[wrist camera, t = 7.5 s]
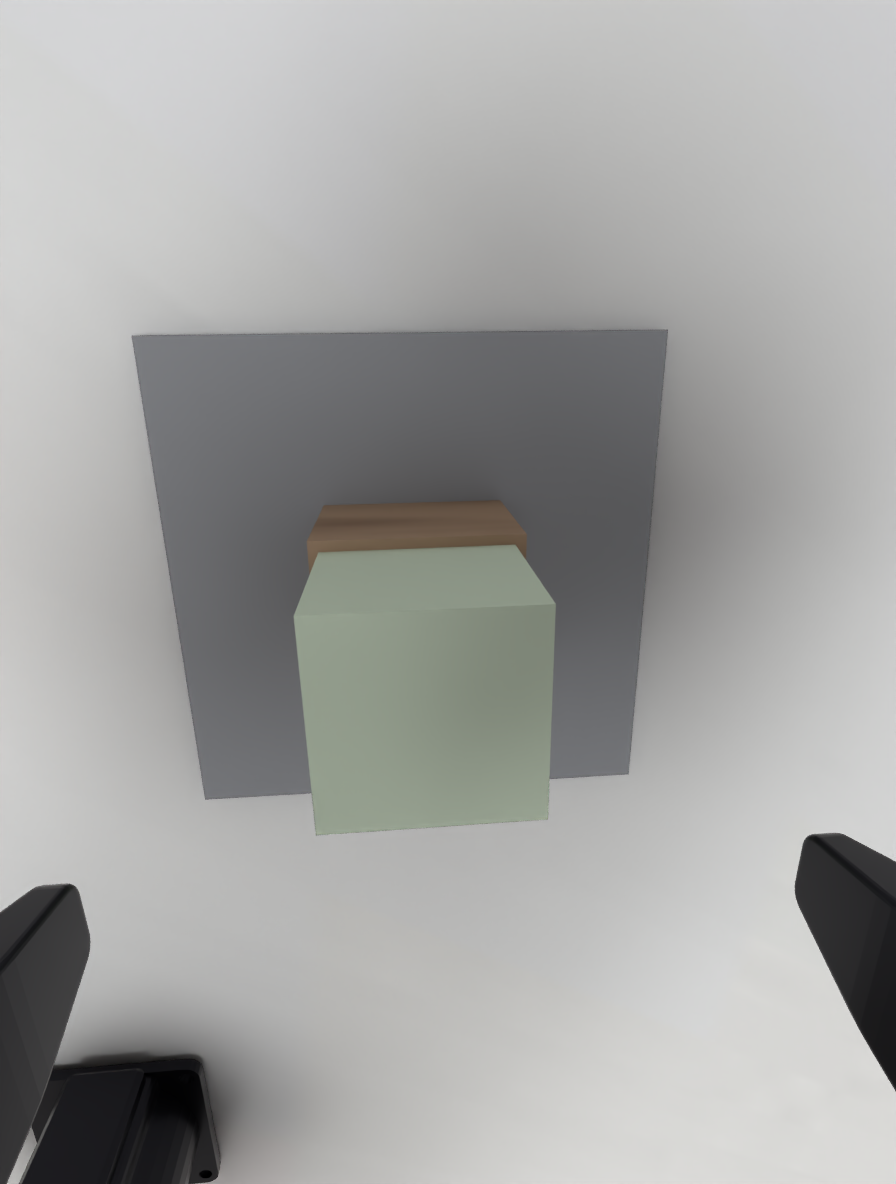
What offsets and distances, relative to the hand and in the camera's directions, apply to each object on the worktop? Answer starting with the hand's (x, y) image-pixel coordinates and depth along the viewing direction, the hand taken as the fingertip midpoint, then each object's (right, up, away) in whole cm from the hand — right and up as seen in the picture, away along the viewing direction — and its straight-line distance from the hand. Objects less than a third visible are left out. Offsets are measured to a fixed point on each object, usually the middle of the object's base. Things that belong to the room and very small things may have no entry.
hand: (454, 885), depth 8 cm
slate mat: (-1, +4, +12) cm, 13 cm away
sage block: (-1, +3, +8) cm, 8 cm away
